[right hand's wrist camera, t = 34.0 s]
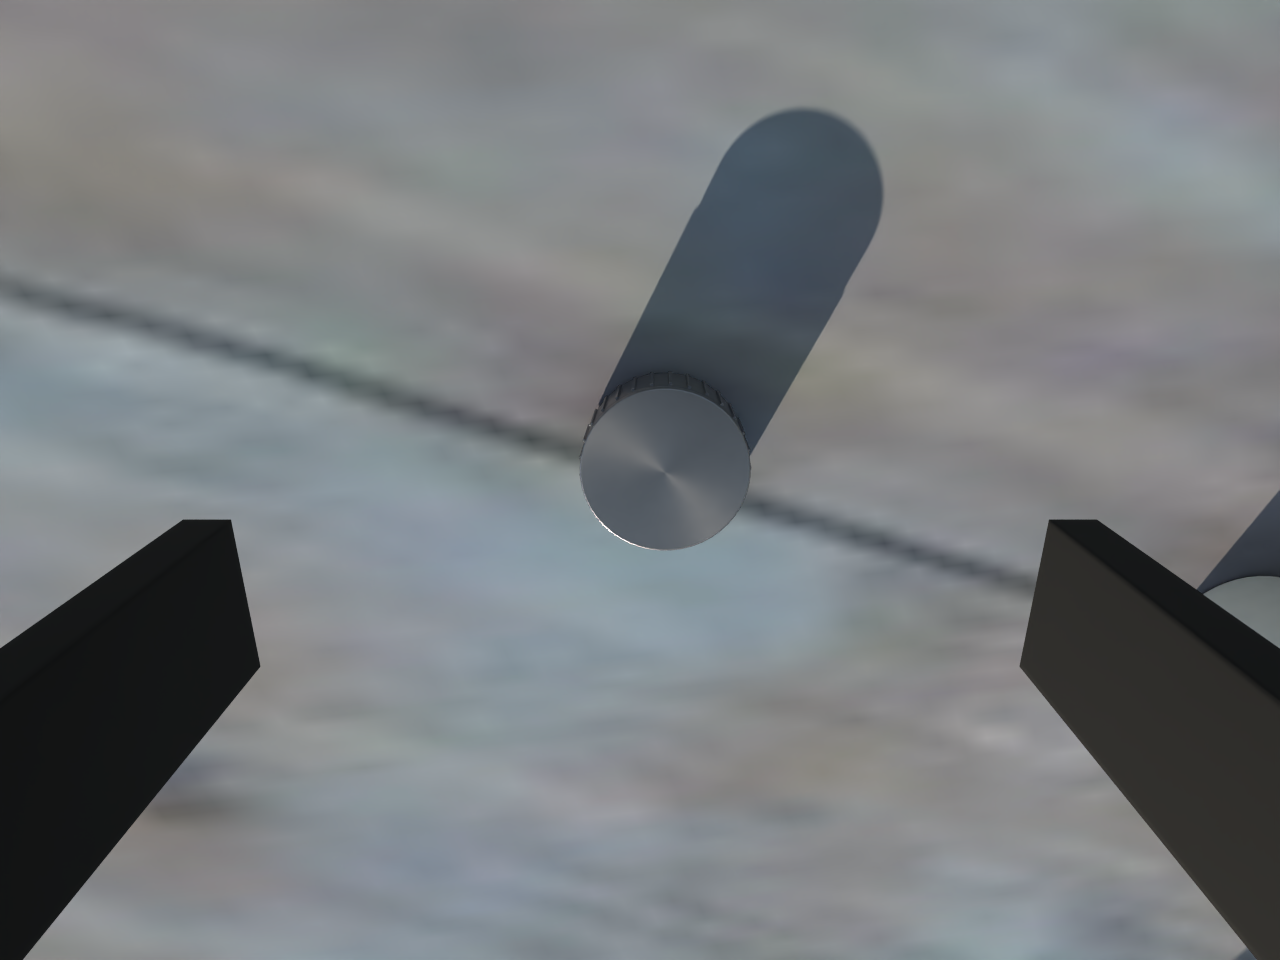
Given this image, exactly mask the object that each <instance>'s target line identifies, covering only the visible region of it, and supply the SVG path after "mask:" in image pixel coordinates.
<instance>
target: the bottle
mask: <svg viewBox="0 0 1280 960" xmlns="http://www.w3.org/2000/svg"><path fill="white" fill-rule="evenodd" d="M1203 595H1205V596H1206V597H1207V598H1209V599H1210V600H1212V601H1213V602H1215V603H1216V604H1217V605H1219V606H1220V607H1222V608H1223V609H1224V610H1226V611H1227V612H1229V613H1230V614H1232V615H1233V616H1234V617H1236V618H1237V619H1239V620H1240V621H1242V622H1243V623H1244V624H1246V625H1247V626H1249V627H1250V628H1251V629H1253V630H1254V631H1256V632H1257V633H1259V634H1260V635H1261V636H1263V637H1264V638H1266V639H1267V640H1269V641H1270V642H1271V643H1273V644H1274V645H1276V646H1277V647H1278V648H1280V577H1273V576H1253V577H1246V578H1241V579H1236V580H1233V581H1230V582H1227V583H1224V584H1222V585H1219V586H1217V587H1215V588H1213V589H1211V590H1209V591H1207V592H1206V593H1204V594H1203Z"/></svg>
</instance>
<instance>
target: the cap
mask: <svg viewBox="0 0 1280 960" xmlns="http://www.w3.org/2000/svg"><path fill="white" fill-rule="evenodd" d="M744 435H745V432H744V430H743V427H742V425H741V422H740V420H739V417H738V418H736V416H735V413H734V411H733V408H732V406H731V404H730V403H727V402H726V401H725V399H724V398H723V397H722V396H721V394H720V392H719V391H718V390H717V391H715V390H714V389H712V388H711V387H710V386H708V385H707V384H706V382H705V381H702V382H701V381H699V380H697V379H694V378H692V377H689V375H688V374H686V376H685V375H681V374H674V373H672V372H671V371H668V373H656V374H654V372H651V374H649V375H645V376H641V377H638V378H637V377H633V380H631V381H629V382H627V383H625V384H623V385H622V386H621V385H618V388H617V389H616V390H615V391H614V392H612V393H611V394H610V395H609V396H607V395H606V396H605V398H604V401H603V403H602V404H601V406H600V407H599V408H598V410H597V409H595V411H594V414H593V417H592V420H591V423H590V424H588V427H587V430H586V433H585V436H584V439H583V442H584V445H583V448H582V451H581V454H580V457H579V459H581V460H580V479H581V485H582V489H583V493H584V496H585V499H586V501H587V503H588V505H589V507H590V509H591V510H592V512H593V513H594V515H595V516H596V518H597V519H598V520H599V521H600V522H601V523H602V524H603V525H604V526H605V527H606V528H607V529H608V530H609V531H610V532H612V533H613V534H615V535H616V536H617V537H619V538H621V539H623V540H624V541H626V542H628V543H631V544H633V545H636V546H639V547H643V548H647V549H653V550H677V549H683V548H687V547H691V546H694V545H697V544H699V543H702V542H704V541H706V540H707V539H709V538H711V537H713V536H714V535H716V534H717V533H718V532H720V531H721V530H722V529H723V528H724V527H725V526H727V525H728V524H729V522H730V521H731V520H732V519H733V518H734V517H735V515H736V514H737V512H738V511H739V509H740V507H741V506H742V503H743V501H744V499H745V497H746V494H747V490H748V487H749V481H750V470H751V465H750V456H749V452H750V449H749V446H748V443H747V441H746V438H745V436H744Z"/></svg>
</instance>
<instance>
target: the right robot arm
mask: <svg viewBox="0 0 1280 960" xmlns="http://www.w3.org/2000/svg"><path fill="white" fill-rule="evenodd" d="M259 668H260V662H259V657H258V652H257V647H256V642H255V637H254V632H253V627H252V622H251V617H250V612H249V607H248V602H247V597H246V592H245V587H244V583H243V578H242V573H241V568H240V563H239V558H238V553H237V548H236V543H235V538H234V533H233V528H232V523H231V520H182V521H181V522H179V523H178V524H176V525H175V526H173V527H172V528H171V529H169V530H168V531H166V532H165V533H163V534H162V535H161V536H159V537H158V538H156V539H155V540H154V541H152V542H151V543H149V544H148V545H146V546H145V547H144V548H142V549H141V550H139V551H138V552H136V553H135V554H134V555H132V556H131V557H129V558H128V559H127V560H125V561H124V562H122V563H121V564H119V565H118V566H117V567H115V568H114V569H112V570H111V571H109V572H108V573H107V574H105V575H104V576H102V577H101V578H100V579H98V580H97V581H95V582H94V583H92V584H91V585H90V586H88V587H87V588H85V589H84V590H82V591H81V592H80V593H78V594H77V595H75V596H74V597H73V598H71V599H70V600H68V601H67V602H65V603H64V604H63V605H61V606H60V607H58V608H57V609H56V610H54V611H53V612H51V613H50V614H48V615H47V616H46V617H44V618H43V619H41V620H40V621H38V622H37V623H36V624H34V625H33V626H31V627H30V628H29V629H27V630H26V631H24V632H23V633H21V634H20V635H19V636H17V637H16V638H14V639H13V640H11V641H10V642H9V643H7V644H6V645H4V646H3V647H2V648H0V960H23V959H24V958H25V956H26V955H27V954H28V953H29V951H30V950H31V949H32V948H33V946H34V945H35V944H36V943H37V941H38V940H39V939H40V938H41V937H42V935H43V934H44V933H45V932H46V930H47V929H48V928H49V927H50V925H51V924H52V923H53V922H54V920H55V919H56V918H57V917H58V916H59V914H60V913H61V912H62V911H63V909H64V908H65V907H66V906H67V904H68V903H69V902H70V901H71V900H72V898H73V897H74V896H75V895H76V893H77V892H78V891H79V890H80V888H81V887H82V886H83V885H84V883H85V882H86V881H87V880H88V879H89V877H90V876H91V875H92V874H93V872H94V871H95V870H96V869H97V867H98V866H99V865H100V864H101V863H102V861H103V860H104V859H105V858H106V856H107V855H108V854H109V853H110V851H111V850H112V849H113V848H114V846H115V845H116V844H117V843H118V842H119V840H120V839H121V838H122V837H123V835H124V834H125V833H126V832H127V830H128V829H129V828H130V827H131V825H132V824H133V823H134V822H135V821H136V819H137V818H138V817H139V816H140V814H141V813H142V812H143V811H144V809H145V808H146V807H147V806H148V805H149V803H150V802H151V801H152V800H153V798H154V797H155V796H156V795H157V793H158V792H159V791H160V790H161V788H162V787H163V786H164V785H165V784H166V782H167V781H168V780H169V779H170V777H171V776H172V775H173V774H174V772H175V771H176V770H177V769H178V767H179V766H180V765H181V764H182V763H183V761H184V760H185V759H186V758H187V756H188V755H189V754H190V753H191V751H192V750H193V749H194V748H195V747H196V745H197V744H198V743H199V742H200V740H201V739H202V738H203V737H204V735H205V734H206V733H207V732H208V730H209V729H210V728H211V727H212V726H213V724H214V723H215V722H216V721H217V719H218V718H219V717H220V716H221V714H222V713H223V712H224V711H225V709H226V708H227V707H228V706H229V705H230V703H231V702H232V701H233V700H234V698H235V697H236V696H237V695H238V693H239V692H240V691H241V690H242V689H243V687H244V686H245V685H246V684H247V682H248V681H249V680H250V679H251V677H252V676H253V675H254V674H255V672H256V671H257V670H258V669H259ZM1020 668H1021V669H1022V670H1023V671H1024V672H1025V674H1026V675H1027V676H1028V677H1029V679H1030V680H1031V681H1032V682H1033V684H1034V685H1035V686H1036V687H1037V689H1038V690H1039V691H1040V692H1041V693H1042V695H1043V696H1044V697H1045V698H1046V700H1047V701H1048V702H1049V703H1050V705H1051V706H1052V707H1053V708H1054V709H1055V711H1056V712H1057V713H1058V714H1059V716H1060V717H1061V718H1062V719H1063V721H1064V722H1065V723H1066V724H1067V726H1068V727H1069V728H1070V729H1071V730H1072V732H1073V733H1074V734H1075V735H1076V737H1077V738H1078V739H1079V740H1080V742H1081V743H1082V744H1083V745H1084V747H1085V748H1086V749H1087V750H1088V751H1089V753H1090V754H1091V755H1092V756H1093V758H1094V759H1095V760H1096V761H1097V763H1098V764H1099V765H1100V766H1101V767H1102V769H1103V770H1104V771H1105V772H1106V774H1107V775H1108V776H1109V777H1110V779H1111V780H1112V781H1113V782H1114V784H1115V785H1116V786H1117V787H1118V788H1119V790H1120V791H1121V792H1122V793H1123V795H1124V796H1125V797H1126V798H1127V800H1128V801H1129V802H1130V803H1131V805H1132V806H1133V807H1134V808H1135V809H1136V811H1137V812H1138V813H1139V814H1140V816H1141V817H1142V818H1143V819H1144V821H1145V822H1146V823H1147V824H1148V825H1149V827H1150V828H1151V829H1152V830H1153V832H1154V833H1155V834H1156V835H1157V837H1158V838H1159V839H1160V840H1161V842H1162V843H1163V844H1164V845H1165V846H1166V848H1167V849H1168V850H1169V851H1170V853H1171V854H1172V855H1173V856H1174V858H1175V859H1176V860H1177V861H1178V863H1179V864H1180V865H1181V866H1182V867H1183V869H1184V870H1185V871H1186V872H1187V874H1188V875H1189V876H1190V877H1191V879H1192V880H1193V881H1194V882H1195V883H1196V885H1197V886H1198V887H1199V888H1200V890H1201V891H1202V892H1203V893H1204V895H1205V896H1206V897H1207V898H1208V900H1209V901H1210V902H1211V903H1212V904H1213V906H1214V907H1215V908H1216V909H1217V911H1218V912H1219V913H1220V914H1221V916H1222V917H1223V918H1224V919H1225V921H1226V922H1227V923H1228V924H1229V925H1230V927H1231V928H1232V929H1233V930H1234V932H1235V933H1236V934H1237V935H1238V937H1239V938H1240V939H1241V940H1242V941H1243V943H1244V944H1245V945H1246V946H1247V948H1248V949H1249V950H1250V951H1251V953H1252V954H1253V955H1254V956H1255V958H1256V959H1257V960H1280V648H1278V647H1277V646H1276V645H1274V644H1273V643H1271V642H1270V641H1269V640H1267V639H1266V638H1264V637H1263V636H1261V635H1260V634H1259V633H1257V632H1256V631H1254V630H1253V629H1251V628H1250V627H1249V626H1247V625H1246V624H1244V623H1243V622H1242V621H1240V620H1239V619H1237V618H1236V617H1234V616H1233V615H1232V614H1230V613H1229V612H1227V611H1226V610H1224V609H1223V608H1222V607H1220V606H1219V605H1217V604H1216V603H1215V602H1213V601H1212V600H1210V599H1209V598H1207V597H1206V596H1205V595H1203V594H1202V593H1200V592H1199V591H1198V590H1196V589H1195V588H1193V587H1192V586H1190V585H1189V584H1188V583H1186V582H1185V581H1183V580H1182V579H1180V578H1179V577H1178V576H1176V575H1175V574H1173V573H1172V572H1171V571H1169V570H1168V569H1166V568H1165V567H1163V566H1162V565H1161V564H1159V563H1158V562H1156V561H1155V560H1153V559H1152V558H1151V557H1149V556H1148V555H1146V554H1145V553H1144V552H1142V551H1141V550H1139V549H1138V548H1136V547H1135V546H1134V545H1132V544H1131V543H1129V542H1128V541H1126V540H1125V539H1124V538H1122V537H1121V536H1119V535H1118V534H1117V533H1115V532H1114V531H1112V530H1111V529H1109V528H1108V527H1107V526H1105V525H1104V524H1102V523H1101V522H1099V521H1098V520H1049V523H1048V528H1047V533H1046V538H1045V543H1044V548H1043V553H1042V558H1041V563H1040V568H1039V573H1038V578H1037V582H1036V587H1035V592H1034V597H1033V602H1032V607H1031V612H1030V617H1029V622H1028V627H1027V632H1026V637H1025V642H1024V647H1023V652H1022V657H1021V662H1020Z"/></svg>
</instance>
